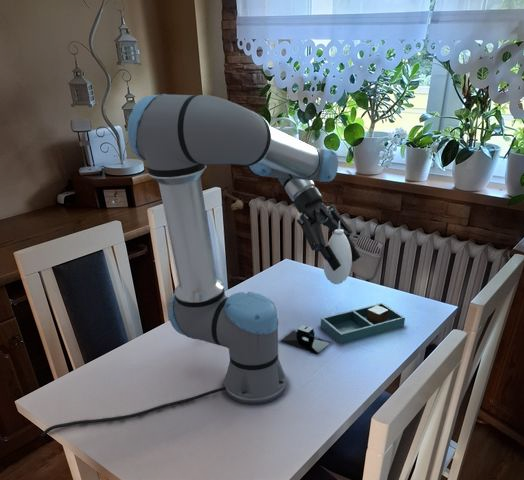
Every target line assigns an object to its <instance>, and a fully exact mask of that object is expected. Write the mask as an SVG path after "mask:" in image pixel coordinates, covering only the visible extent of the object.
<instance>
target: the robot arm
mask: <svg viewBox="0 0 524 480" xmlns="http://www.w3.org/2000/svg"><path fill="white" fill-rule="evenodd" d="M127 140H128V143H129V147H130V149H131V151H132V153H134V154H136V157H138V158H139V159H141V160H142V161H145V162H146V167H147V171H148V175H149V176H150V177H151V178H152V179H153V180H155V181H157V183H158V187H159V192H160V197H161V201H162V207H163V211H164V216H165V221H166V225H167V231H168V235H169V241H170V246H171V250H172V255H173V259H174V265H175V271H176V276H177V281H178V285H177V286H176V287H175V289H174V293H173V294H172V295H171V297H170V300H169V304H170V306H168V318H169V322H170V324H171V326H172V328H173V329H174V330H175V331H176V332H177V333H178V334H180V335H182V336H185V337H187V338H190V339H191V340H198V341H202V342H206V343H209V344H213V345H216V346H221V347H224V348H227V349H228V355H229V362H228V366H227V370H226V373H225V376H224V379H223V385H224V386H222V387H219V388H215V389H212V390H209V391H206V392H203V393H200V394H197V395H194V396H191V397H187V398H184V399H180V400H176V401H173V402H172V401H171V402H168V403H165V404H161V405H158V406H154V407H151V408H148V409H145V410H142V411H138V412H135V413H130V414H125V415H120V416H113V417H105V418H104V417H103V418H95V419H83V420H81V419H80V420H75V421H71V422H65V423H58V424H54V425H51V426H49V427H47V428H46V429H45V430H44V431H43V432H42V433H41V434H40V437H41V438H42V437H45V436H47V434H48V433H50V432H52V431H53V430H56V429H61V428H66V427H71V426H76V425H85V424H86V425H87V424H98V423H99V424H100V423H106V422H114V421H121V420H127V419H132V418H136V417H140V416H143V415H146V414H150V413H154V412H156V411H159V410H162V409H166V408H169V407H173V406H177V405H180V404H185V403H189V402H192V401H195V400H199V399H201V398H204V397H207V396H209V395H210V396H211V395H213V394H216V393H219V392H223V391H225V393H226V396H228V397H229V398H230V399H231V400H233V401H234V402H237V403H240V404H245V405H263V404H267V403H271V402H273V401H276V400H277V399H279V398H280V397H281V396H282V395H283V394H284V393H285V391H286V389H287V377H286V374H285V371H284V369H283V366H282V364H281V362H280V359H279V318H278V310H277V307H276V304H275V303H274V302H273V301H272V299H270V298H269V297H267V296H266V295H264V294H261V293H258V292H254V291H253V292H252V291H247V292H244V291H241V292H236V293H233V294H231V295H229V296H226V294H225V293H226V292H225V286H224V282H223V281H221V280H220V279H219V278H217V277H216V269H215V263H214V257H213V249H212V244H211V238H210V232H209V224H208V217H207V211H206V205H205V199H204V198H205V197H204V192H203V184H202V179H201V176H202V174H203V173H204V171H205V170H206V169H207V165H241V166H244V167H249V169H250V171H251V172H253V174H255V175H258V176H260V177H266V178H267V177H268V178H274V179H278V182H280V184H281V186H282V187H283V189H284V190H285V192H286V194H287V195H288V196H289V197H288V198H290V200H291V201H292V202H293V205H294V207H295V208H296V210H297V211H298V213H299V214H300V216H298V218H297V219H296V222H297V224H298V225H299V226H300V228H301V229H302V232H303V234H304V236H305V239H306V241H307V243H308V245H309V246H310V249H311V251H315V252H316V253H321V255H322V257H323V259H325V260H327V261H328V263H329V265H330V266H331V268H332V269H333V271H335V270H336V269H338V268H339V267H340V266H341V264H340V263H339V261H338V259H337V258H336V256H335V255H334V253H333V251H332V250H331V248H330V247H329V245H327V243H326V241H325V236H324V233H323V230H322V226H321V225H323V226H324V227H327V228H328V229H329V230H330V231H331V232H332V234H334V231H335V230H336V229H338V225H339V220H340V229H342V230H344V234H345V236H346V237H347V239H348V242H349V244H350V248H351V253H352V263H355V262H356V261H358V260H359V259H360V258H361V255H360V253H359V252H358V250H357V248H356V246H355V243H354V242H353V240H352V239H351V236H352V235H353V230H352V228H351V227H350V226H349V224H348V223H347V222H346V221H345V219H344V218H343V217H342V216H341V214H340V213H339V212H338V210H337V208H336V206H335V204H331V205H329V206H327V205H325V204H324V203H323V195H322V194H321V192H320V191H319V189H318V187H316V185H315V182H319V183H321V182H331V181H333V180H334V179H335V177H336V176H337V173H338V168H339V157H338V154H337V152H336V150H334V149H330V148H326V147H323V148H317V147H315V146H313V145H310V144H308V143H306V142H304V141H302V140H299V139H297V138H296V137H293V136H292V135H289V134H287V133H285V132H283V131H281V130H279V129H277V128H274V127H272V126H270V124H269V122H268V121H267V120H266V118H265V117H263V116H262V115H261V114H258V113H257V112H255V111H253V110H250V109H248V108H246V107H244V106H242V105H240V104H238V103H236V102H232V101H230V100H228V99H225V98H222V97H218V96H214V95H210V94H167V93H162V94H153V95H146V96H143V97H142V98H140V99H139V100H138V101H137V102H136V103H135V105H134V106H133V107H132V111H131V113H130V114H129V117H128V121H127Z"/></svg>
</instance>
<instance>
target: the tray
mask: <svg viewBox="0 0 524 480" xmlns="http://www.w3.org/2000/svg"><path fill="white" fill-rule="evenodd" d="M376 305H378V306H380V307H383V308H385V309H388V310H389V313H388V321H386V322H382V323H378V324H375V325H373V324H372V323H371V322H369V321H368V320H367V310H368V309H370V308H372V307H374V306H376ZM405 323H406V317H405V316H404V315H402V314H400V313H398V311H395V310H394V309H392V308H391V307H389V306H387V304H385V303H383V302H380V303H375V304H372V305H368V306H363V307H359V308H356V309H351V310H348V311H344V312H340V313H336V314H335V313H334V314H331V315H328V316H323V317H320V328H321V329H322V330H324V332H325V333H327V334H328V335H329V336H330V337H332V338H333V339H334V340H335V341H336V342H337V343H338V344H340V345H342V344H347V343H351V342H354V341H357V340H361V339H364V338H367V337H368V338H369V337H372V336H375V335H378V334H382V333H383V334H384V333H387V332H390V331H394V330H397V329H401V328H404V327H405Z"/></svg>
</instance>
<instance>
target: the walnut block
mask: <svg viewBox="0 0 524 480" xmlns="http://www.w3.org/2000/svg"><path fill="white" fill-rule="evenodd" d="M388 313H389V310H388V309H385V308H383V307H380V306H378V305H376V306H374V307H372V308H370V309H368V310H367V320H368V321H369V322H371V323H372V324H373V325H375V324H378V323H382V322H386V321H388Z"/></svg>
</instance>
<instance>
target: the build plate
mask: <svg viewBox="0 0 524 480" xmlns="http://www.w3.org/2000/svg"><path fill="white" fill-rule="evenodd" d="M315 335H316V333H315V329H314V328H313V327H311V326H307V325H304V324H302V325H301V326H299V327H298V328H297V329H296V330H293V331H291V332H290V333H289V334H288V335H286V336H284V337H283V338H282V339H281V340H280V343H282V344H285V345H289V346H291V347H294V348H297V349H300V350H303V351H306V352H309V353H311V354H313V355H319V354H320V353H322V351H324V350H325V349H326V348H327V347H328V346H329V345H330V344H331V342H330V341H327V340H324V339H322V338H318V337H315Z"/></svg>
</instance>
